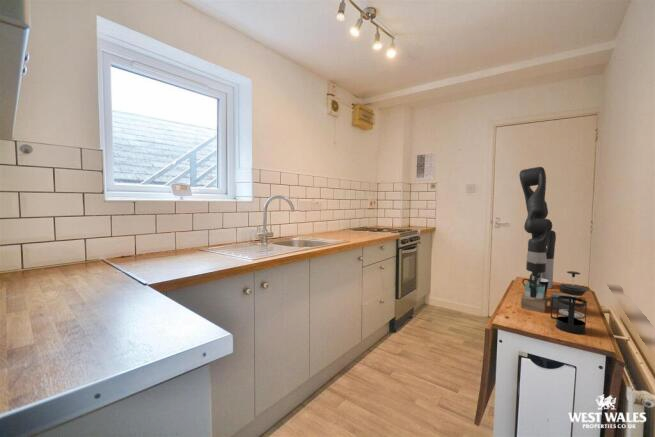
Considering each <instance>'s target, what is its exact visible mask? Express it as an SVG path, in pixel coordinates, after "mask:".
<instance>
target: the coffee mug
mask: <svg viewBox="0 0 655 437" xmlns="http://www.w3.org/2000/svg"><path fill="white" fill-rule="evenodd" d="M525 280H526V281H528V283H530V277H528V278H523V279H522V281H521V283H522V285H523V286H524V287H525V284H526V283H524V281H525ZM548 282H549V280H547V279H543V278H541V283H540V284H541V285H545V295H544V297H547V296H546V295H547V293H548V292H547V291H548V289H547V287H548Z"/></svg>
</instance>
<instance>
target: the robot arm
mask: <svg viewBox="0 0 655 437" xmlns="http://www.w3.org/2000/svg"><path fill="white" fill-rule="evenodd" d="M518 177H519V182H520V185H521V188H522V192H523V195H524V198H525V205H526V210H527V216H526V217H527V218H526V220H525V222H524V226H523V229H524V231H525V232H527V233H528V234H530V235H531V238H529V239H528V242H527V245H528V246H527V253H526V265H525V267H526V269H525V270H526V271H527V272H531V274H529V278H530V285H529V288H530V297H533V298H536V290H537V286H538V285H539V284H540V283H541V278H543V279H547V280H549V282H548V287H547V290H549V289H550V290H551V289H553V285H554V284H553V283H554V267H555V266H554V261H555V260H554V259H555V248H556V241H557V240H556V239H557V233H556V231H554V230H552V229H553V223H552V221H551V220H550V219H548V218H547V216H548V215H549V210H548V205H547V201H546V189H547V187H546V186H547V174H546V170H545V168H544V167H542V166H536V167H531V168H525V169H522V170H520V171H519V176H518ZM533 186H534V187H535V186H537V187H536V188H535V190H533V189H532V188H531V187H533ZM532 285H535V287H534V286H532Z"/></svg>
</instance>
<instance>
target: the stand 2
mask: <svg viewBox="0 0 655 437" xmlns="http://www.w3.org/2000/svg"><path fill="white" fill-rule="evenodd" d="M552 296H554V297H558V296H571V297H572V295H569V294H564V293H556V292H552V293H551V295H550V298H549V299H550V300H549V308H550V309H551V301H552ZM573 297H576V296H575V295H573ZM561 300H564V301H568V302H569V299H561ZM557 302H558V299H555V298H553V307H552V309H554V310H555V309H556V310H557ZM575 303H577V301H575ZM561 309H566V310H569V305H566V304H563V303H560V302H558V310H561ZM574 311H576V306H575V310H574Z"/></svg>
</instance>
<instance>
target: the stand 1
mask: <svg viewBox="0 0 655 437" xmlns="http://www.w3.org/2000/svg"><path fill="white" fill-rule="evenodd" d="M548 298H549V297H548V296H546V297H544V299H543V300H538V299H533V298H528V297H525V293H524V294H523V295H522V296H521V298H520V300H521V301H520V302H521V303H520V308H521V309H525V310H530V311H534V312H539V313H545V312H546V310H547V308H548Z"/></svg>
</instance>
